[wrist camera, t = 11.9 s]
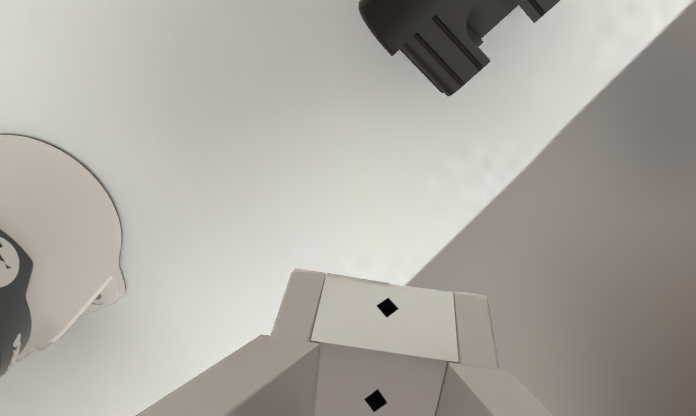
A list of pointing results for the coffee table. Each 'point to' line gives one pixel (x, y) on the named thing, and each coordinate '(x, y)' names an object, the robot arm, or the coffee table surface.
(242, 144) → the coffee table surface
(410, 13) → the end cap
